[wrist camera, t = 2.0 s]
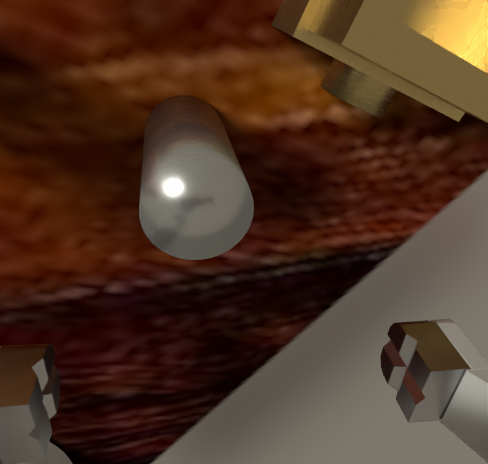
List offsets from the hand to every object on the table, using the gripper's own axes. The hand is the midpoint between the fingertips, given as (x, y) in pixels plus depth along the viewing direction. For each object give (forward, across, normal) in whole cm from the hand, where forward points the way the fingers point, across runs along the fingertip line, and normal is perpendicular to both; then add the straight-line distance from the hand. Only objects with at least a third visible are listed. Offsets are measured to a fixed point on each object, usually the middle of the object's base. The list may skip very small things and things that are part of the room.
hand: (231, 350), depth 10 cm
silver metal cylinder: (+16, 0, 0) cm, 16 cm away
